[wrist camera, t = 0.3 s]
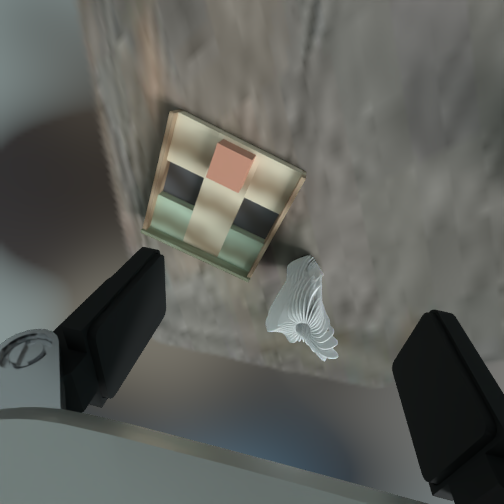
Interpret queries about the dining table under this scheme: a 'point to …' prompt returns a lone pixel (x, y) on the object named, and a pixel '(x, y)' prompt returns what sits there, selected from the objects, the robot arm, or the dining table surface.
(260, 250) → the box
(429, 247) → the dining table surface
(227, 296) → the dining table surface
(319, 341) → the shell sculpture
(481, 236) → the dining table surface
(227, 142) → the block
